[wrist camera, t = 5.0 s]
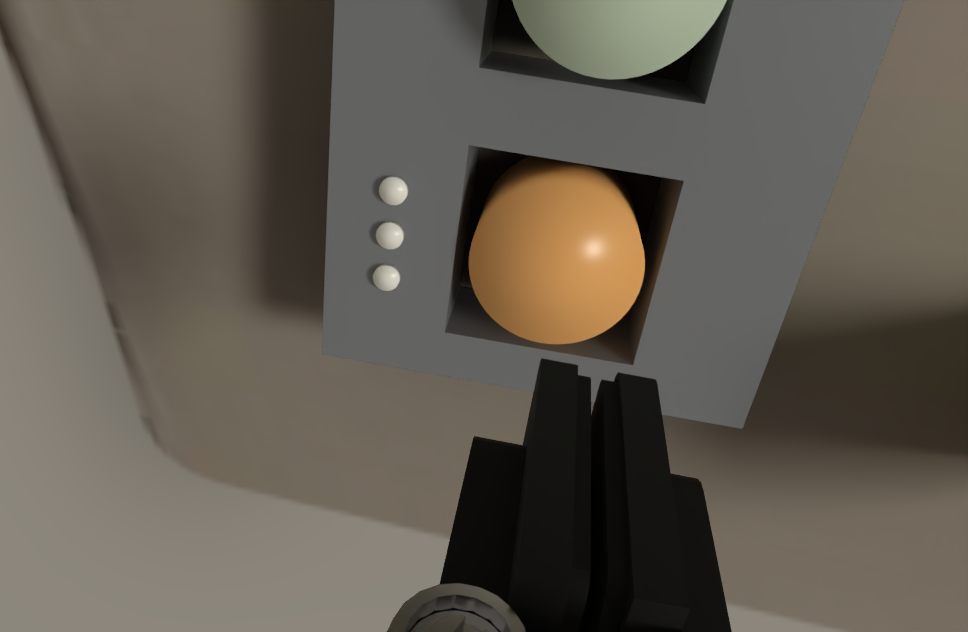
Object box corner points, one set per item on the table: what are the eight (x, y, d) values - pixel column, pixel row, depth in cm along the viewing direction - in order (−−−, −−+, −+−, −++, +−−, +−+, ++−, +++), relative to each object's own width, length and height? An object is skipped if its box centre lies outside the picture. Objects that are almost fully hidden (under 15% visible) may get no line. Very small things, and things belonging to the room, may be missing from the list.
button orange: (493, 138, 20) (481, 168, 17) (652, 164, 20) (664, 198, 17) (472, 282, 22) (458, 328, 19) (616, 307, 22) (622, 357, 19)
